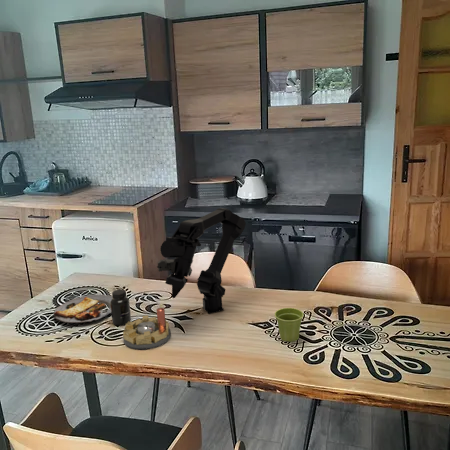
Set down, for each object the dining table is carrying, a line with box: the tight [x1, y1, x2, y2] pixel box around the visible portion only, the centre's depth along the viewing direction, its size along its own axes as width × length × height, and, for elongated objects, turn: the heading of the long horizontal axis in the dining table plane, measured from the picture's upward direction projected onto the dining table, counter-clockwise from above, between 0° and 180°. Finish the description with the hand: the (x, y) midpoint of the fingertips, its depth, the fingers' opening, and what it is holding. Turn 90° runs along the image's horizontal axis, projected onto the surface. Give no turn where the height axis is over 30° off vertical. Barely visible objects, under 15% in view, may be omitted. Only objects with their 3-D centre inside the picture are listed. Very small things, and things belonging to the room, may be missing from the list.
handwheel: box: [122, 307, 170, 345], centre depth 154 cm, size 15×15×10 cm
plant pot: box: [274, 307, 304, 343], centre depth 150 cm, size 9×9×9 cm
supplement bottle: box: [110, 289, 132, 327], centre depth 166 cm, size 7×7×12 cm
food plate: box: [52, 294, 113, 324], centre depth 177 cm, size 25×23×4 cm
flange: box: [122, 322, 172, 351], centre depth 155 cm, size 16×16×5 cm
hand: (173, 297), depth 162 cm, fingers closed
